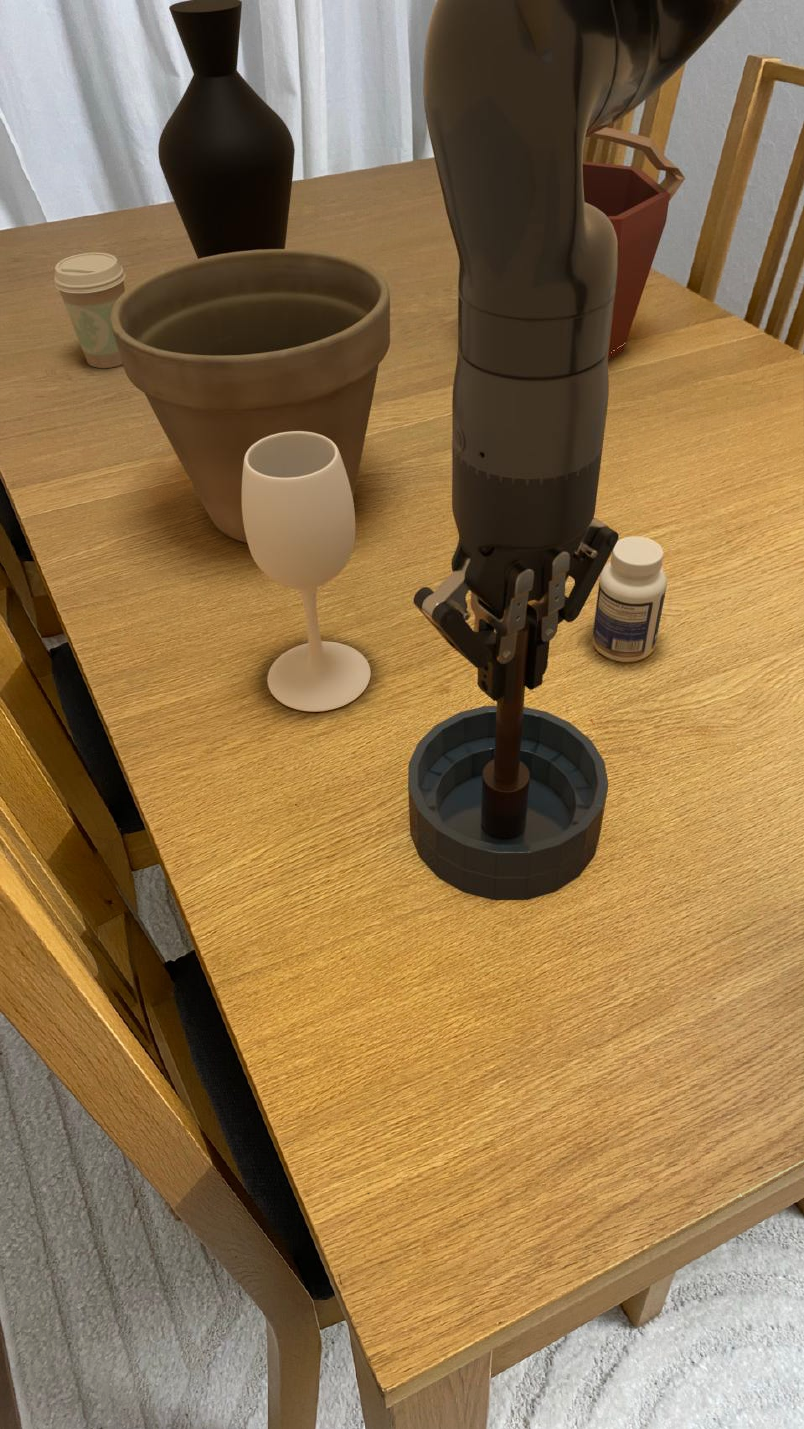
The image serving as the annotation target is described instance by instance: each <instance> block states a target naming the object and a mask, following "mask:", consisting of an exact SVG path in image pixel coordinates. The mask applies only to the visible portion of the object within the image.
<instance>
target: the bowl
mask: <svg viewBox="0 0 804 1429" xmlns="http://www.w3.org/2000/svg"><path fill="white" fill-rule="evenodd" d="M496 710H497V705H483V706H479V707H475V708H471V709H467V710H462V711H460V712H457V713H455V714H454V715H452V716H450V717H448V718H446V719H444V720H442V721H440V722H439V723H437V724H435V725H433V727H432V728H431V729H430V730H429V731H428V732H427V733H426V734H425V735H424V736H423V737H422V738H421V739H420V740H419V741H418V743H417V744H416V746H415V749H414V751H413V753H412V755H411V757H410V760H409V762H408V765H407V766H408V767H407V793H408V794H407V796H408V811H409V812H408V817H409V835H410V839H411V841H412V843H413V846H414V848H415V850H416V853H417V855H418V858H419V859H420V860H421V861H422V862H423V863H424V864H425V865H426V866H427V868H428V869H429V870H430V871H431V872H432V873H433V874H434V875H435V876H436V877H437V878H438V880H439V879H440V880H441V881H443V882H444V883H447V884H448V885H450V886H452V887H453V888H455V889H457V890H458V891H460V892H462V893H464V894H466V895H467V894H468V895H471V896H475V897H479V898H483V899H487V900H491V901H529V900H532V899H535V898H540V897H543V896H547V895H550V894H553V893H556V892H558V891H559V890H561V889H563V888H564V887H565V886H567V885H569V884H570V883H572V882H573V881H575V880H576V879H578V878H580V876H581V875H582V874H583V872H584V871H585V870H586V868H587V867H588V866H589V864H590V863H591V861H592V860H593V859H594V858H595V855H596V852H597V849H598V845H599V840H600V837H601V833H602V826H603V820H604V815H605V808H606V803H607V797H608V791H609V781H608V780H609V778H608V774H607V768H606V761H605V759H604V758H603V757H602V754H601V753H600V752H599V749H597V747H596V745H595V744H594V742H593V741H592V739H590V738H589V737H588V736H587V735H586V734H584V733H583V731H581V730H579V728H577V727H576V726H575V725H574V724H572V723H571V722H570V721H567V720H566V719H563V718H561V717H559V716H557V715H556V714H555V715H554V714H552V713H550V712H548V711H546V710H542V709H536V708H531V707H526V706H524V709H523V723H522V737H521V751H520V761H521V762H522V763H524V764H525V765H526V767H527V768H528V770H529V773H530V781H529V793H528V805H527V817H526V825H525V828H524V830H523V831H522V832H521V833H520V834H519V835H517V836H515V837H512V838H506V839H503V838H497V837H494V836H492V835H490V834H488V833H487V832H486V831H485V830H484V828H483V827H482V824H481V803H482V774H483V769H484V767H485V766H486V765H487V764H488V763H489V762H490V761H492V760H494V754H495V732H496Z"/></svg>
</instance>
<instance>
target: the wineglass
mask: <svg viewBox="0 0 804 1429" xmlns="http://www.w3.org/2000/svg"><path fill="white" fill-rule="evenodd" d="M242 516H243V523H244V529H245V534H246V538H247V542H248V543H247V546H248V550H249V552H250V555H251V557H252V559H253V560H254V562H255V564H256V565H257V567H258V568H259V569H260V570H261V572H262V573H264V574H265V576H267V577H268V578H269V579H271V580H272V581H273V582H275V583H276V584H278V585H281V586H283V587H285V588H289V589H293V590H298V591H299V593H300V596H301V599H302V604H303V609H304V614H305V621H306V629H307V630H306V632H307V642H306V643H303V644H299V645H297V646H294V647H292V648H290V649H288V650H286V651H285V652H283V653H282V654H280V656H279V657H278V658H277V659H275V661H274V662H273V663H272V665H271V666H270V668H269V670H268V673H267V678H266V679H267V681H266V682H267V687H268V690H269V692H270V693H271V695H272V696H273V697H274V698H275V699H276V700H277V701H278V702H280V703H281V704H282V705H284V706H286V707H288V708H291V709H293V710H297V711H301V712H302V711H303V712H311V713H312V712H326V711H332V710H335V709H339V708H342V707H344V706H346V705H348V704H350V703H352V702H353V701H355V700H356V699H357V698H358V697H360V696H361V695H362V694H363V693H364V691H365V690H366V688H367V687H368V685H369V683H370V681H371V674H372V673H371V667H370V664H369V661H368V660H367V658H366V657H365V656H364V655H363V653H361V652H360V651H358V650H357V649H355V648H353V647H351V646H350V645H347V644H344V643H340V642H335V641H328V640H327V641H326V640H324V641H322V638H321V637H322V636H321V630H320V625H319V616H318V605H317V604H318V603H317V595H318V594H317V592H318V588H321V587H322V586H325V585H326V584H328V583H330V582H332V580H334V579H335V578H337V576H339V574H340V573H342V571H343V570H344V569H345V567H346V566H347V564H348V563H349V561H350V559H351V557H352V554H353V551H354V547H355V543H356V542H355V541H356V512H355V504H354V496H353V497H352V492H351V488H350V484H349V480H348V477H347V473H346V470H345V467H344V464H343V461H342V458H341V455H340V453H339V450H338V448H337V446H336V445H335V444H334V442H333V441H331V440H330V439H328V438H327V437H325V436H322V435H320V434H316V433H312V432H304V431H291V432H283V433H278V434H274V435H271V436H268V437H265V438H263V439H261V440H259V441H258V442H256V443H255V444H253V445H252V446H251V447H250V448H249V449H248V451H247V452H246V455H245V458H244V464H243V475H242Z"/></svg>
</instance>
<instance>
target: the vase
mask: <svg viewBox="0 0 804 1429" xmlns="http://www.w3.org/2000/svg"><path fill="white" fill-rule="evenodd" d="M242 6H243V1H242V0H184V1H179V2H176V3H173V4H171V5H170V6H169V11H170V14H171V17H172V20H173V22H174V23H173V24H174V25H175V28H176V31H177V34H178V36H179V39H180V41H181V44H182V47H183V49H184V52H185V56H186V57H187V61H188V62H189V65H190V68H191V70H192V73H193V75H192V77H191V79H190V81H189V84H188V85H187V88H186V89H185V91H184V93H183V95H182V97H181V98H180V101H179V102H178V103H177V105H176V107H175V109H174V110H173V112H172V114H171V115H170V117H168V118H169V119H168V120H167V122H166V123H165V125H164V128H163V129H162V130H161V134H160V137H159V140H158V145H157V146H158V147H157V148H158V149H157V150H158V151H157V152H158V161H159V166H160V169H161V171H162V173H163V176H164V179H165V182H166V184H167V187H168V189H169V192H170V194H171V197H172V200H173V202H174V204H175V206H176V209H177V211H178V215H179V216H180V219H181V222H182V223H183V226H184V229H185V231H186V234H187V236H188V239H189V241H190V243H191V246H192V248H193V251H194V253H195V256H196V259H200V258H204V257H209V256H214V255H219V254H225V253H232V252H240V251H250V250H266V249H286V242H287V234H288V225H289V214H290V206H291V196H292V189H293V188H292V187H293V177H294V167H295V166H294V165H295V151H296V150H295V142H294V139H293V136H292V133H291V131H290V130H289V128H288V126H287V124H286V122H285V121H284V120H283V119H282V118H281V116H280V115H279V114H278V113H277V112H276V111H275V110H274V109H272V107H271V106H269V104H268V103H266V102H265V100H263V99H262V98H261V96H260V95H259V94H258V93H257V92H256V91H255V90H254V89H253V87H251V85H250V84H249V83H248V82H247V81H246V80H245V78H244V77H243V76H242V75H241V74H240V73H239V71H238V61H239V60H238V58H239V46H240V34H241V33H240V32H241V20H242V9H243V8H242Z"/></svg>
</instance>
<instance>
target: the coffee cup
mask: <svg viewBox="0 0 804 1429" xmlns="http://www.w3.org/2000/svg"><path fill="white" fill-rule="evenodd" d="M54 271H55V272H54V277H53V280H54V287H55V288H56V289H57V290H58V291H59V293H60V296H61V298H62V301H63V304H64V307H65V309H66V311H67V313H68V316H69V318H70V321H71V324H72V327H73V329H74V332H75V334H76V338H77V340H78V342H79V345H80V347H81V350H82V353H83V355H84V358H85V360H86V362H87V364H88V365H89V366H90V367H93V368H97V369H110V368H116V367H119V366H123V364H122V361H121V357H120V354H119V351H118V347H117V344H116V341H115V338H114V335H113V331H112V328H111V325H110V314H111V310H112V307H113V305H114V303H115V302H116V300H117V299H118V298H119V297H120V296H121V295H122V294H123V293H124V292H125V291H126V288H125V282H124V280H125V278H126V273H125V272H124V268H123V266H122V265H121V264H120V263H119V260H118V258H117V257H116V256H114V255H113V254H110V253H106V252H84V253H77V254H74V255H71V256H68V257H65V258H63V259H61V260H60V261H58V262H57V263H56V264H55V267H54Z"/></svg>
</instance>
